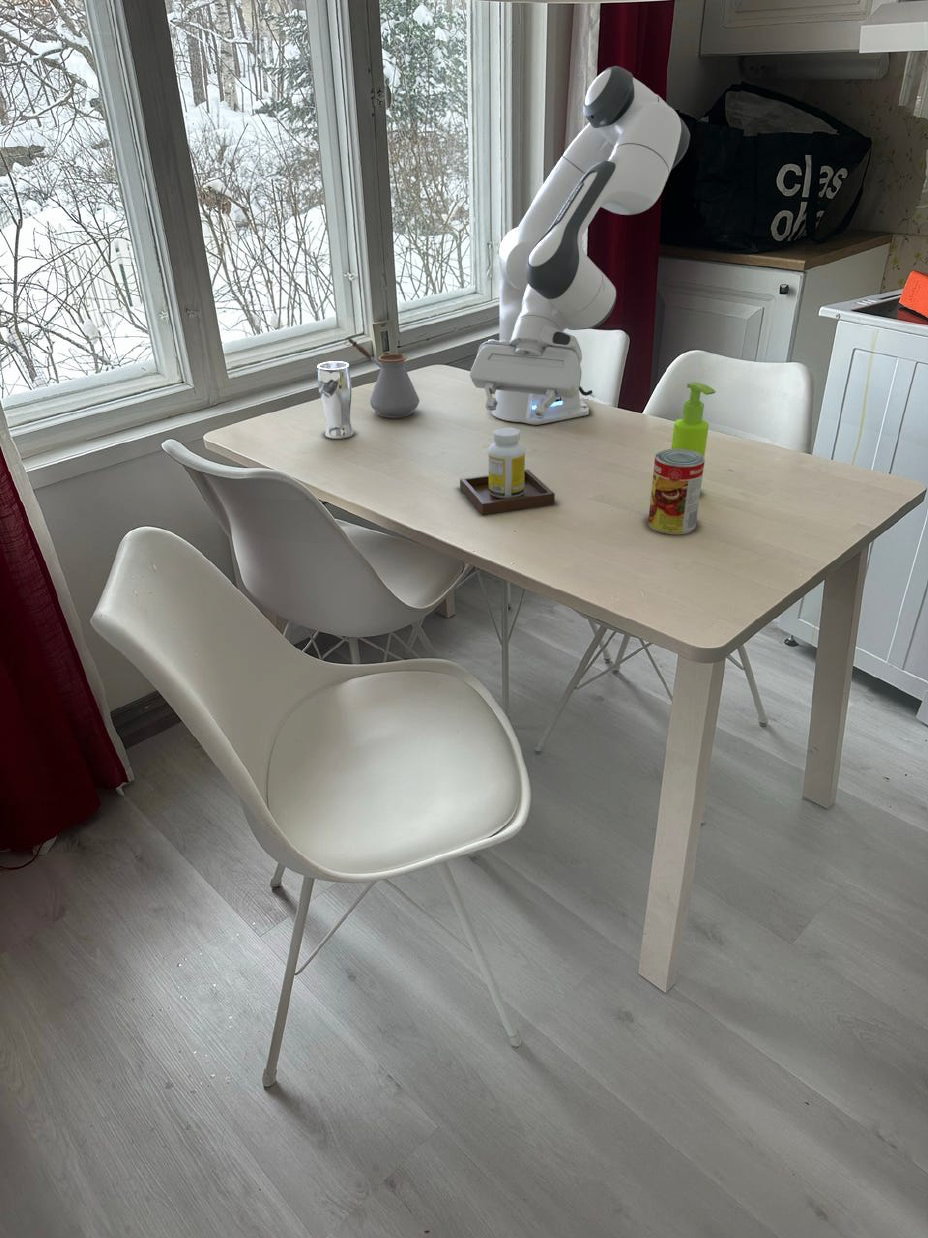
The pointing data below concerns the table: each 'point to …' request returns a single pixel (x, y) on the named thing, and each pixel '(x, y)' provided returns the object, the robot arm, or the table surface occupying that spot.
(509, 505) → the tray
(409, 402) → the coffee pot
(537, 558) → the table surface
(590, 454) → the table surface
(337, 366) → the beer glass
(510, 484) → the pill bottle
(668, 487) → the canned food
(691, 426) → the soap dispenser
